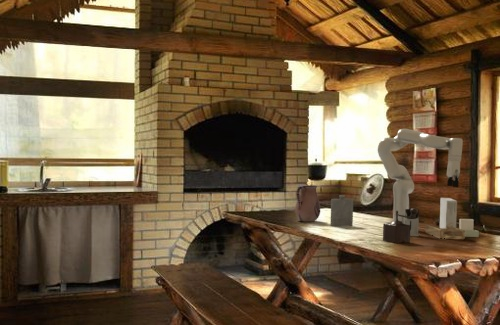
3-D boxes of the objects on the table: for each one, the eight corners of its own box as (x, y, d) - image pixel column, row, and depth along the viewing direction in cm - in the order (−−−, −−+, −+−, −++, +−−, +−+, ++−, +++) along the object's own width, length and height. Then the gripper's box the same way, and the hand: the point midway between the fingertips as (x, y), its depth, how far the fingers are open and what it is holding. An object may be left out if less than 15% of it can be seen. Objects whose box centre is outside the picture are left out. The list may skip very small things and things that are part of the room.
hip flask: (331, 226, 366) (332, 195, 366) (328, 225, 370) (329, 195, 370) (353, 226, 372) (354, 195, 371) (350, 225, 375) (351, 195, 375)
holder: (458, 236, 333) (458, 230, 333) (453, 234, 340) (453, 229, 340) (479, 237, 333) (479, 231, 333) (474, 235, 340) (474, 229, 340)
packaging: (456, 233, 348) (457, 201, 348) (445, 232, 349) (446, 200, 349) (449, 228, 378) (450, 198, 378) (439, 227, 379) (440, 197, 379)
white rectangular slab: (460, 236, 335) (461, 219, 335) (458, 235, 338) (459, 218, 338) (473, 236, 336) (473, 219, 336) (471, 235, 338) (471, 219, 338)
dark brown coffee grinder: (396, 243, 295) (398, 209, 295) (382, 240, 305) (383, 207, 305) (418, 242, 303) (419, 208, 303) (403, 239, 312) (404, 206, 312)
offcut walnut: (444, 234, 327) (444, 231, 327) (444, 233, 332) (444, 230, 332) (452, 234, 326) (452, 231, 326) (451, 233, 331) (451, 230, 330)
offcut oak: (445, 238, 326) (445, 234, 326) (442, 237, 331) (442, 233, 331) (454, 238, 327) (454, 234, 327) (450, 237, 332) (450, 233, 332)
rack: (439, 238, 321) (440, 229, 321) (425, 232, 347) (426, 224, 347) (464, 239, 321) (464, 230, 321) (448, 233, 347) (448, 225, 347)
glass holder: (421, 235, 332) (422, 210, 332) (408, 237, 323) (409, 210, 323) (408, 233, 339) (409, 208, 339) (395, 235, 329) (395, 209, 329)
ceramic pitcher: (324, 221, 395) (325, 185, 395) (310, 223, 377) (311, 186, 377) (301, 219, 404) (302, 184, 404) (287, 221, 387) (288, 184, 386)
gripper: (443, 157, 352) (441, 185, 353) (453, 158, 335) (451, 187, 336) (455, 158, 352) (453, 185, 353) (466, 159, 335) (463, 188, 336)
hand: (452, 186), depth 344 cm, fingers open, 9 cm apart
